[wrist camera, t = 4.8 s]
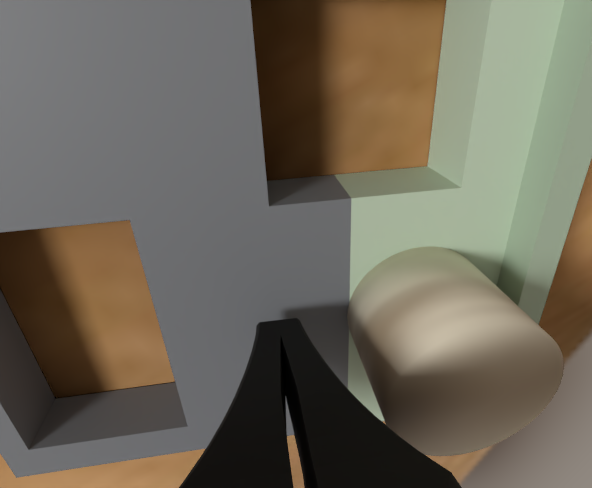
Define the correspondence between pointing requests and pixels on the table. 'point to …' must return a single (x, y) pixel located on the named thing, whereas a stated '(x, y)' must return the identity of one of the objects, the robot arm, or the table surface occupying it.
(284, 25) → the table surface
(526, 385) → the beige rounded cylinder
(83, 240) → the table surface
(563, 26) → the trap deck
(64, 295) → the table surface
